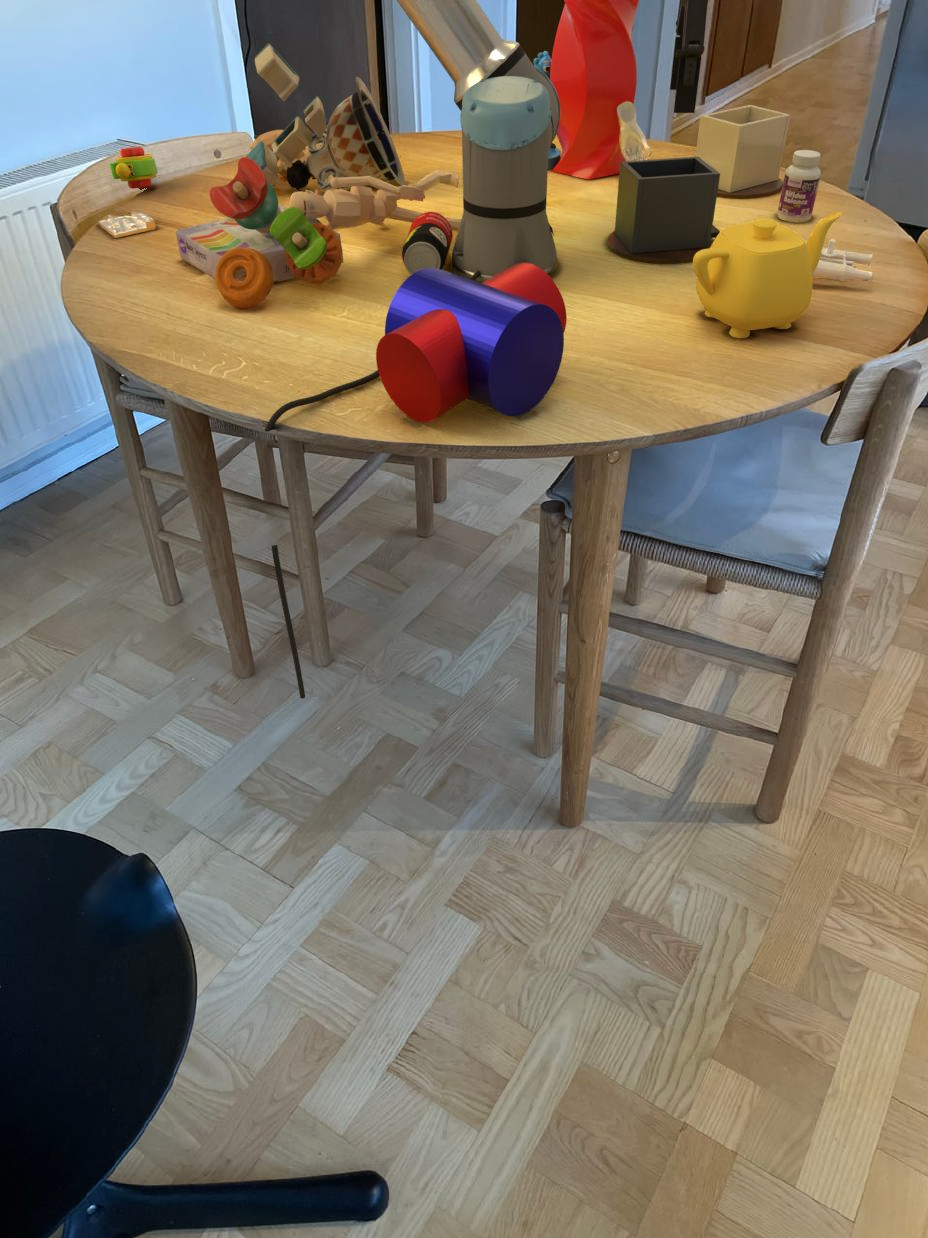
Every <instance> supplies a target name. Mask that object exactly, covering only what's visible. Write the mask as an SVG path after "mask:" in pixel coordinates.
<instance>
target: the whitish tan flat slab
mask: <svg viewBox="0 0 928 1238" xmlns="http://www.w3.org/2000/svg"><path fill="white" fill-rule="evenodd" d="M129 212H130V215H121V216H118V217H113V215H111V214H107V216H106V218H107V219H103V220H99V221H97V224H98V226H99V227H100V228H102V229H103V230H104V231H105V232H107V233H108V234H109V235H111V236H112V237H113V238H115V239H118V238H122V237H126V236H131V235H136V234H140V233H144V232H149V231H155V230H157V224H156V220H155V219H154V218H152V217H151V216H150V215H149V214H147V213H145V212H141V211H131V210H130V211H129Z"/></svg>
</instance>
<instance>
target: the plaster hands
mask: <svg viewBox="0 0 928 1238" xmlns="http://www.w3.org/2000/svg"><path fill="white" fill-rule="evenodd" d="M617 115H618V121H619V126H620V135H619V144H620V150H621V154H622V156H623V157H624V159H625V160H626V161H639V160H650V158H651V157H652V155H653V150H652V148H651V147H650V146H649V144H648V141H647V138H646V136H645V134H644V132H643V129H641V127H640V126H639V124H638V123H637V108H636V106H635V105H634V103H633V104H632V103H631V102H628V101H627V102H623V103H622V104H620V105H619V106H618V108H617ZM644 150H645V151H646V152H648V153H647V155H646V157H644V154H645V153H644ZM644 158H645V159H644Z"/></svg>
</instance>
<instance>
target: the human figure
mask: <svg viewBox="0 0 928 1238" xmlns="http://www.w3.org/2000/svg"><path fill="white" fill-rule="evenodd" d="M331 178H332V179H331V180H330V184H331V186H332V187H333V188H337V189H333V190H327V191H326V192H324V193H323V195H321V194H319V189H317V188H315V192H314V191H312V190H309V189H305V191H294V192H293V193H291V195H290V197H289V201H288V204H289V205H288V206H289V208H291V207H298V208H299V209H300V210H301V212H302V213H303V214H304V215H305V217H306V218H307V219H321V218H323V217H324V218H325V219H324V220H325V221H327V223H326V226H328V227H329V228H331V229H332V230H333V231H335V230H341V229H342V230H343V229H344V230H345V229H350V228H351V229H352V228H357V227H360V226H362V225H367V224H369V223H371V224H373V225H376V226H381V227H384V228H385V227H386V224H385V220H386V219H389V220H396V221H401V222H406V223H411V224H412V223H413V221H414V220H415V218H416V217H417V216H419V215H420V214H422V213H423V212H420V211H417V210H412V209H408V208H405V207H400V206H398V201H401V200H405V201H410V202H412V201H416V202H424V200H425V199H426V194H425V192H427V191H429V190H430V189H432V188H434V187H436V186H437V185H439V184H443V185H447V186H451V187H454V188H458V187H459V185H460V180H459V177H458V176H457V175H456V173H454V172H452V171H445V172H444V171H442V170H441V169H435V170H433V172H431V173H428V174H427V175H425V176H424V177H423V178H421V179H420V180H418V181H416V183H413V184H405V185H403V186H401V185H399V186H395V185H393V184H391V183H389V182H384V181H382V180H380V179H377V178H374V177H371V176H360V177H339V178H338V177H333V176H332V177H331ZM368 186H369V187H368ZM370 186H371V187H370ZM339 187H351V188H350V189H349V190H350V191H349V190H347V191H346V190H343V189H340V188H339ZM372 187H373V188H375V189H377V191H376V194H374V192H373V189H372ZM444 217H445V218H446V219H447V221H448V222H449V224H450V226H451V228H452V231H455V232H458V230H459V226H460V223H461V219H462V218H456V217H455V218H454V217H448V216H444Z"/></svg>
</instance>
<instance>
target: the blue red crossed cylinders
mask: <svg viewBox="0 0 928 1238" xmlns="http://www.w3.org/2000/svg"><path fill="white" fill-rule="evenodd" d="M393 295H394V296H393V297H392V299H391V302H390V304H389V306H388V309H387V314H386V317H385V324H384V335H383V336H382V337H381V338H380V340H378V343H377V345H376V351H375V361H376V362H375V363H376V367H377V368H376V369H377V370H378V372H379V375H380V376H379V379H380V381H381V383H382V385H383V387H384V389H385V391H386V393H387V394H388V396H389V398H390V399H391V401H392V402H393V403H394V404H395V406H396V407H397V408H398V409H399V411H401V412H402V413H403V414H405V415H406V416H407V417H409V418H410V419H412V420H414V421H416V422H419V423H429V422H432V421H434V420H435V419H437V418H439V417H441V416H442V415H444V414H445V413H447V412H449V411H450V410H452V409H453V408H455V407H457V406H458V405H460V404H462V403H463V402H464V401H466V400H469V401H472V402H474V403H476V404H478V405H481V406H483V407H485V408H488V409H490V410H493V411H495V412H496V413H499V414H501V415H504V416H506V417H511V418H512V417H513V418H514V417H516V418H517V417H520V416H523V415H525V414H528V413H529V412H531V411H532V410H533V409H535V408H536V406H538V405H539V404H540V403H541V402H542V401H543V399H544V398H545V397H546V396H547V394H548V393H549V391H550V389H551V388H552V386H553V384H554V382H555V380H556V378H557V376H558V373H559V370H560V368H561V363H562V359H563V355H564V348H565V331H566V327H567V307H566V304H565V301H564V298H563V295H562V293H561V290H560V289H559V287H558V285H557V284H556V282H555V281H554V280H553V278H552V277H551V275H550V276H549V275H548V274H547V273H546V272H545V271H543V270H542V269H541V268H539V267H537V266H535V265H533V264H529V263H519V264H516V265H514V266H512V267H510V268H508V269H506V270H505V271H503V272H501V273H499V274H497V275H495V276H493V277H492V278H490V279H488V280H486V281H484V282H482V283H479V282H476V281H473V280H470V279H467V278H464V277H461V276H459V275H456V274H455V273H454V272H450V271H447V270H445V269H442V270H441V269H438V268H425V269H422V270H419V271H417V272H415V273H414V274H412V275H411V274H410V275H409V276H408V277H407V278H406V279H405V280H404V281H403V282H402V283H401V285H400V286H399V288H398V289H397V290H396V292H395V294H393Z"/></svg>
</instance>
